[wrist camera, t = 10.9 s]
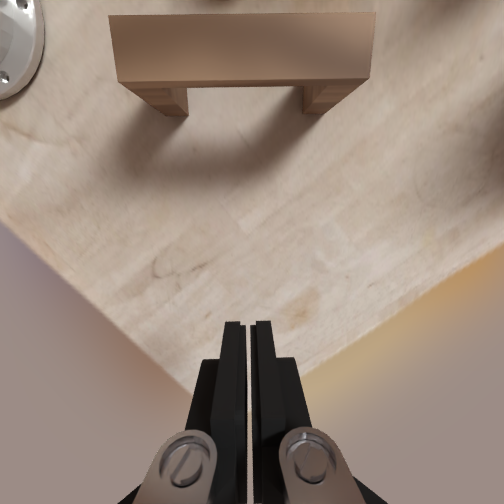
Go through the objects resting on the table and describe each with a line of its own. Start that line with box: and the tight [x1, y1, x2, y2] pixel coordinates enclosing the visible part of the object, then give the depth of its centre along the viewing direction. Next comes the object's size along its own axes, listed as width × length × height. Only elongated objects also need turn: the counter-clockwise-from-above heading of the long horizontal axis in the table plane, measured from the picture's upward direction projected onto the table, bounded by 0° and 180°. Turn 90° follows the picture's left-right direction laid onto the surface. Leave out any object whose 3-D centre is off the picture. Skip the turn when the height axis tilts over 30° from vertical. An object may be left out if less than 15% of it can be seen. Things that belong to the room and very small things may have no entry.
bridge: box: [108, 12, 376, 116], centre depth 18 cm, size 3×14×9 cm, turn 91°
